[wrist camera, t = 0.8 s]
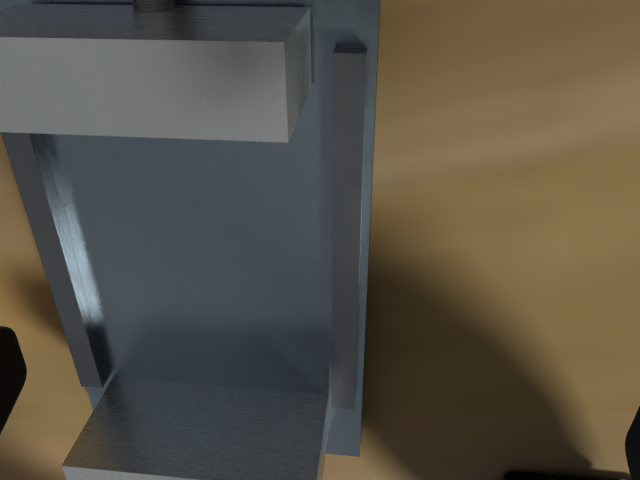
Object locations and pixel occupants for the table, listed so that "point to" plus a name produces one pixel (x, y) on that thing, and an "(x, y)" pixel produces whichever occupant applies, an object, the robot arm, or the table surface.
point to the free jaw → (154, 70)
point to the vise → (217, 275)
